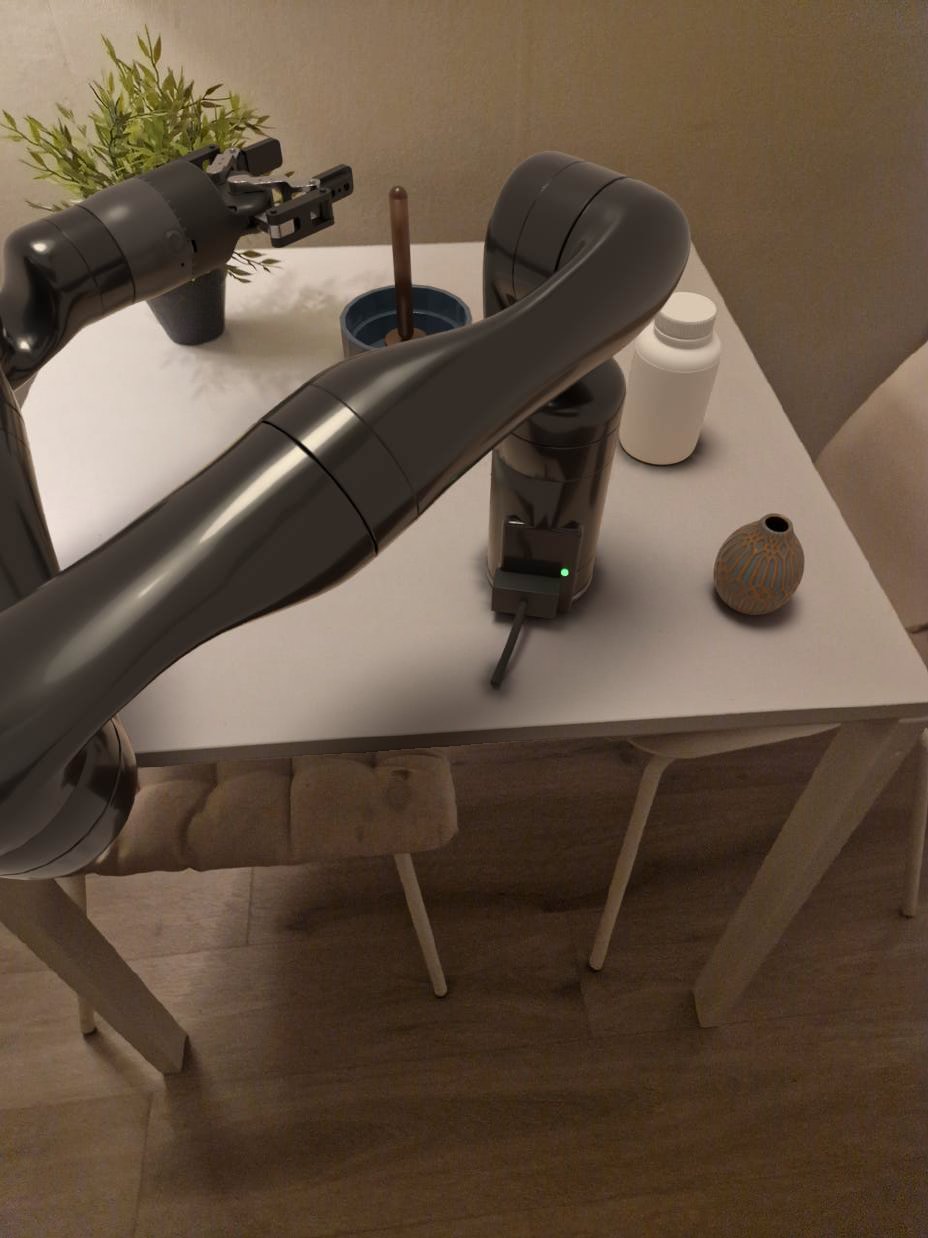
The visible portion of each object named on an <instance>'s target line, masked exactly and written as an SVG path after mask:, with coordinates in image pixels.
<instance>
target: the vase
mask: <svg viewBox="0 0 928 1238" xmlns="http://www.w3.org/2000/svg"><path fill="white" fill-rule="evenodd" d="M804 572H805V552H804V549H803V545H802V544H801V541H800V540H799V538H798V536H797V535H796V533H795V531H794V524H793V522H792V520H791V519H790V518H788V517H787V516H786V515H784V514H781V513H775V512H774V513H773V512H772V513H767V514H765V515H764V516H762V517H761V518H760V519H758V520H755V521H752V522H749V523H746V524H745V525H742V526H741V527H739V528H737V529H736V530H734V531H733V532H732V533H731V534H729V536H728V537H727V538H726V539H725V540H724V541H723V542H722V545H721V547H720V548H719V549H718V552H717V555H716V557H715V561H714V565H713V583H714V587H715V590H716V592H717V594H718V596H719V597H720V599H721V600H722V601H723V602H724V603H725V604H726V605H727V606H728V607H729V608H732V610H734V611H736V612H739V613H741V614H745V615H751V616H752V615H753V616H757V615H759V616H760V615H765V614H769V613H772V612H775V611H776V610H778V609H780V608H781V607H783V606H784V605H785V604H786V603H787V602H788V601H790V599H792V597H793V596H794V595H795V593H796V592H797V590H798V589H799V586H800V584H801V583H802V580H803V576H804Z"/></svg>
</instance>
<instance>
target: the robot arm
mask: <svg viewBox="0 0 928 1238" xmlns="http://www.w3.org/2000/svg"><path fill="white" fill-rule="evenodd" d="M206 161H207V162H208V166H207V168H206V169H205V172H206V173H205V172H204V167H203V163H204V162H206ZM283 162H284V159H283V151H282V146H281V142H280V140H279V139H277V138H275V137H271V136H269V137H267V138H264V139H262V140H260V141H257V142H254V143H252V144H249V145H248V146H245V147H242V148H239V147H235V146H231V147H227V148H226V149H225V150H224V151H221V147H220V145H219V144H215V143H210V144H208V145H205V146H203V147H200V148H198V149H196V150H193V151H190V152H189V153H187V154H183V155H182V156H180V157H177V158H174V159H173V160H170V161H168V162H165V163H163V164H161V165H160V166H158V167H156V168H153V169H150V170H148V171H146V172H143V173H140V174H138V175H136V176H133V177H130V178H127V179H125V180H122V181H120V182H117V183H115V184H113V185H110V186H107V187H104V188H102V189H100V190H98V191H96V192H95V193H93V194H91V195H90V196H88V197H87V198H85V199H84V200H82V201H80V202H77V203H76V204H74V205H72V206H69V207H66V208H64V209H62V210H59V211H56V212H53V213H50V214H48V215H46V216H44V217H40V218H39V219H36V220H33V221H31V222H28V223H26V224H24V225H21V226H20V227H18V228H15V229H14V230H13V231H11V232H10V233H9V235H7V236H6V238H5V240H4V241H3V246H2V260H3V261H2V262H3V263H2V264H3V281H2V285H1V288H0V878H2V879H11V880H22V881H30V882H31V881H32V882H33V881H43V880H44V881H45V880H53V879H58V878H61V877H63V876H67V875H70V874H73V873H75V872H77V871H79V870H82V869H83V868H85V867H86V866H88V865H89V864H91V863H92V862H94V860H96V859H97V858H98V857H100V856H101V855H102V854H104V853H105V852H106V851H107V850H108V848H109V847H110V846H111V845H112V844H113V843H114V842H115V840H116V839H117V838H118V837H119V835H120V834H121V832H122V831H123V829H124V827H125V825H126V824H127V822H128V821H129V818H130V815H131V812H132V810H133V807H134V805H135V800H136V796H137V795H136V794H137V788H138V764H137V759H136V755H135V752H134V751H135V750H134V749H133V745H132V743H131V741H130V738H129V736H128V733H127V732H126V730H125V727H124V725H123V723H122V720H121V718H120V716H119V714H118V713H119V712H121V710H123V709H124V708H125V707H126V706H127V705H128V704H130V703H131V702H133V700H134V699H136V698H137V696H139V695H140V694H141V693H142V692H143V691H144V690H146V689H147V687H149V686H150V685H151V684H152V683H153V682H154V681H156V679H157V678H159V677H160V676H162V674H164V673H165V672H166V671H167V670H169V669H170V668H171V667H172V666H174V665H175V664H176V663H178V662H179V661H180V660H181V659H183V658H185V657H186V656H187V655H189V654H191V653H192V652H193V651H195V650H197V649H198V648H200V647H201V646H203V645H205V644H207V643H208V642H210V641H213V640H214V639H217V638H218V637H219V636H221V635H224V634H226V633H228V632H231V631H233V630H236V629H238V628H240V627H243V626H245V625H246V626H247V625H249V624H252V623H254V622H256V621H259V620H262V619H264V618H267V617H270V616H272V615H275V614H279V613H281V612H284V611H286V610H289V609H291V608H293V607H296V606H299V605H302V604H304V603H306V602H309V601H311V600H314V599H316V598H318V597H320V596H322V595H325V594H326V593H328V592H331V591H332V590H334V589H337V588H339V587H340V586H341V585H343V584H345V583H346V582H348V581H349V580H351V579H352V578H354V577H355V576H356V575H357V574H359V573H360V572H361V571H363V569H365V568H366V567H368V566H369V565H370V564H371V563H372V562H373V561H375V559H376V558H378V557H379V556H380V555H381V554H382V553H383V552H384V551H386V550H387V549H388V548H389V546H391V545H392V544H394V542H395V541H397V540H398V539H399V538H400V537H401V536H402V535H403V534H404V533H405V532H406V531H407V530H409V529H410V528H411V527H413V525H414V524H416V522H417V521H418V520H420V519H421V517H422V516H423V515H424V514H425V513H427V512H428V510H429V509H430V508H431V507H432V506H433V505H435V503H437V502H438V501H439V499H440V498H442V497H443V495H444V494H445V493H446V492H448V491H449V490H450V489H451V488H452V486H454V485H455V484H456V483H457V482H458V481H459V480H461V478H463V476H465V475H466V474H467V473H468V472H469V471H470V470H472V469H473V468H474V467H475V466H477V464H479V463H480V461H481V460H483V459H484V458H485V457H487V455H488V454H490V452H491V466H490V469H491V470H490V487H489V490H490V492H489V512H488V513H489V515H488V534H487V535H488V537H487V539H488V540H487V556H486V562H485V568H486V569H485V572H486V576H487V579H488V583H490V585H491V605H490V611H492V612H498V613H499V612H500V613H505V614H514V615H515V616H514V619H513V623H512V626H511V628H510V632H509V634H508V637H507V640H506V643H505V646H504V648H503V651H502V653H501V655H500V658H499V660H498V662H497V664H496V667H495V669H494V672H493V674H492V676H491V679H490V681H489V683H490V685H491V686H493V687H494V688H495V687H499V686H500V683H501V680H502V678H503V676H504V673H505V671H506V668H507V666H508V664H509V661H510V660H511V657H512V654H513V653H514V649H515V648H516V644H517V641H518V638H519V635H520V633H521V629H522V626H523V623H524V620H525V617H526V616H529V617H537V618H544V619H552V620H555V619H556V614H557V612H558V613H565V614H566V613H570V612H571V608H572V604H573V603H574V602H576V601H578V600H579V599H580V598H582V597H583V595H584V594H586V592H587V591H588V589H589V587H590V586H591V584H592V580H593V575H594V563H595V559H596V553H597V547H598V541H599V536H600V531H601V526H602V521H603V515H604V511H605V505H606V500H607V496H608V495H607V494H608V490H609V485H610V484H609V483H610V479H611V474H612V469H613V463H614V458H615V452H616V448H617V444H618V439H619V430H620V423H621V418H622V414H623V408H624V403H625V397H626V391H627V381H626V377H625V374H624V372H623V369H622V367H621V365H620V364H619V363H618V361H617V360H616V358H615V356H616V355H617V354H619V353H620V352H621V351H622V350H623V349H624V348H626V347H627V346H629V344H630V343H631V342H633V341H634V340H635V339H637V337H638V336H639V334H640V333H641V332H642V331H643V330H644V329H645V328H646V327H647V326H648V325H649V324H650V323H652V322H653V321H654V318H655V317H656V316H657V315H658V313H659V312H660V311H661V310H662V308H663V307H664V306H665V304H666V303H667V301H668V300H669V298H670V297H671V295H672V294H673V293H675V290H676V289H677V287H678V285H679V282H680V281H681V279H682V276H683V274H684V272H685V269H686V267H687V264H688V261H689V257H690V252H691V245H692V231H691V226H690V223H689V218H688V216H687V215H686V213H685V211H684V210H683V207H682V206H681V205H680V203H678V202H677V201H676V200H675V199H674V198H672V197H671V196H670V195H668V193H666V192H664V191H662V190H661V189H659V188H658V187H655V186H654V185H651V184H649V183H647V182H644V181H642V180H640V179H638V178H635V177H632V176H630V175H627V174H625V173H621V172H619V171H616V170H614V169H611V168H608V167H606V166H603V165H600V164H598V163H595V162H592V161H589V160H586V159H584V158H581V157H578V156H576V155H574V154H570V153H566V152H562V151H559V150H545V151H539V152H536V153H533V154H532V155H529V156H528V157H526V158H525V159H524V160H522V161H521V162H519V164H518V165H516V166H515V167H514V169H512V171H511V172H510V173H509V175H508V176H507V177H506V179H505V180H504V182H503V184H502V185H501V188H500V189H499V191H498V193H497V195H496V198H495V200H494V203H493V205H492V209H491V212H490V215H489V218H488V222H487V226H486V232H485V237H484V243H483V244H484V245H483V253H482V254H483V255H482V314H483V315H482V317H483V319H481V320H478V321H475V322H472V324H470V325H466V326H463V327H459V328H456V329H452V330H448V331H445V332H440V333H436V334H432V335H428V336H424V337H420V338H416V339H412V340H408V341H405V342H401V343H397V344H393V345H389V346H385V347H381V348H378V349H374V350H371V351H367V352H364V353H361V354H358V355H356V356H353V357H350V358H347V359H344V358H343V359H342V360H339V361H338V362H336V363H333V364H332V365H330V366H328V367H326V368H324V369H323V370H321V371H320V372H318V373H316V374H315V375H314V376H312V377H311V378H309V379H308V380H306V381H305V382H304V383H302V384H301V385H300V386H299V387H298V388H296V389H295V390H293V392H291V393H290V394H289V395H288V396H286V397H285V398H284V399H283V400H282V401H280V402H279V403H278V404H277V405H275V406H274V407H273V408H271V409H270V410H269V411H268V412H266V413H265V414H264V415H263V416H262V417H260V418H259V419H258V420H256V422H253V423H252V424H251V425H250V426H249V427H248V428H247V429H246V430H244V431H243V432H242V433H241V434H240V435H239V436H238V437H236V438H235V439H234V440H233V441H232V442H231V443H229V445H227V446H226V447H225V448H224V449H223V450H222V451H221V452H219V453H218V455H216V456H215V457H214V458H212V460H210V461H209V462H207V463H206V464H205V465H204V466H202V467H201V468H200V469H198V470H197V471H196V472H194V473H193V474H192V475H190V476H189V477H188V478H187V479H185V480H184V481H182V482H181V483H180V484H178V485H177V486H176V487H174V488H173V489H172V490H171V491H169V492H168V493H166V494H165V495H164V496H163V497H162V498H160V499H159V500H158V501H156V502H155V503H153V504H152V505H150V506H149V507H148V508H147V509H145V510H144V511H143V512H142V513H140V514H139V515H138V516H137V517H135V518H134V519H132V520H131V521H130V522H129V523H128V524H126V525H125V526H123V527H122V528H121V529H119V530H118V531H117V532H115V533H114V534H112V535H111V536H110V537H109V538H107V539H106V540H105V541H104V542H102V543H101V544H99V545H98V546H96V547H95V548H94V549H92V550H91V551H89V552H88V553H87V554H85V555H83V556H82V557H80V558H79V559H78V560H76V561H75V562H73V563H72V564H70V565H68V566H67V567H65V568H64V569H62V570H61V567H60V564H59V560H58V557H57V553H56V549H55V547H54V544H53V541H52V537H51V533H50V529H49V525H48V522H47V518H46V513H45V509H44V506H43V505H44V504H43V500H42V496H41V492H40V488H39V483H38V479H37V473H36V470H35V464H34V459H33V455H32V450H31V445H30V441H29V436H28V432H27V427H26V423H25V419H24V416H23V413H22V410H21V408H20V405H19V403H18V400H17V397H16V396H15V395H16V394H15V392H16V391H19V389H21V388H22V387H23V386H24V385H25V384H26V383H27V382H28V381H30V380H31V379H32V378H33V377H34V376H35V375H36V374H37V373H38V372H40V371H41V369H43V368H44V367H45V366H46V365H47V364H48V363H49V362H50V361H51V360H52V359H53V358H55V357H56V356H57V355H58V354H59V353H60V352H61V351H62V350H64V349H65V348H66V346H68V344H70V342H71V341H73V339H74V338H75V337H76V336H78V335H79V333H81V331H82V330H85V329H86V328H87V327H89V326H91V325H94V324H96V323H99V322H101V321H103V320H105V319H107V318H108V317H111V316H113V315H115V314H117V313H119V312H121V311H123V310H125V309H127V308H128V307H131V306H133V305H136V304H139V303H142V302H146V301H149V300H152V299H156V298H157V297H160V296H163V295H164V294H166V293H168V292H171V291H173V290H175V289H177V288H180V287H181V286H183V285H185V284H187V283H190V282H191V281H193V280H195V279H197V278H199V277H201V276H203V275H206V274H207V273H209V272H212V271H213V270H216V269H218V268H219V267H221V266H223V265H225V264H227V263H228V262H229V261H230V260H231V259H232V257H233V255H234V253H235V250H236V247H237V244H238V242H239V241H240V238H241V237H245V236H249V235H254V234H259V233H265V234H266V235H268V236H269V239H270V245H271V247H272V248H274V249H283V248H285V247H288V246H291V245H292V244H294V243H297V242H298V241H301V240H303V239H305V238H307V237H310V236H312V235H314V234H316V233H319V232H321V231H323V230H326V229H327V228H330V227H332V226H333V225H335V224H336V221H335V216H334V210H333V209H334V208H333V204H334V203H337V202H339V201H341V200H343V199H345V198H346V197H349V196H351V195H352V194H353V193H354V188H355V187H354V185H355V184H354V175H353V169H352V167H351V166H350V165H347V164H345V163H340V164H338V165H336V166H333V167H331V168H329V169H327V170H325V171H323V172H321V173H318V174H316V175H314V176H312V177H311V178H305V179H294V180H291V179H290V178H289V177H288V175H285V174H275V175H274V174H273V175H265V174H268V173H270V172H272V171H274V170H276V169H280V168H281V167H282V166H283ZM263 175H264V176H263ZM273 190H277V191H279V192H280V195H281V200H282V201H281V203H279V202H275V199H274V192H273ZM300 193H301V194H302V195H300V196H297V197H294V198H292V196H293V195H294V194H300ZM303 193H304V194H303Z"/></svg>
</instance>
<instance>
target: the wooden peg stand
mask: <svg viewBox="0 0 928 1238" xmlns="http://www.w3.org/2000/svg"><path fill="white" fill-rule="evenodd" d="M388 203H389V218H390V233H391V234H390V235H391V249H392V266H393V282H394V285H395V298H396V313H397V329H394V330H392V331H390V332H389V333H388V334H387V335H386V336H385V346H389V345H393V344H397V343H401V342H405V341H408V340H412V339H416V338H420V337H424V336H427V334H426V333H425V332H424V331H422V330H420V329H417V328H414V318H413V297H412V284H413V278H412V277H413V276H412V258H411V257H412V256H411V238H410V237H411V236H410V218H409V217H410V215H409V214H410V213H409V194H408V191H407V189H406V188H405V186H404V185H401V184H395V185H393V186H392V187H390V189H389V192H388Z"/></svg>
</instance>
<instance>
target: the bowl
mask: <svg viewBox="0 0 928 1238" xmlns="http://www.w3.org/2000/svg"><path fill="white" fill-rule="evenodd" d="M412 297H413V318H414V328H417V329H420V330H422V331H424V332H425V333H426V334H427V336H428V335H432V334H436V333H440V332H445V331H448V330H452V329H456V328H459V327H463V326H466V325H470V324H473V315H472V312H471V309H470V306H468V305H467V303H466V302H465V301H463V299H462V298H461V297H459V296H457V295H455V294H454V293H452V292H450V291H448V290H446V289H443V288H439V287H436V286H432V285H428V284H427V285H425V284H416V283H415V284H413V283H412ZM339 326H340V335H341V343H342V350H343V360H344V359H347V358H350V357H353V356H356V355H358V354H361V353H364V352H367V351H371V350H374V349H378V348H381V347H385V336H386V335H387V334H388V333H389V332H390V331H392V330H394V329H397V313H396V298H395V284H389V285H385V286H381V287H376V288H373V289H369V290H368V291H366V292H363V293H361V294H359V295H357V296H355V297H354V298H352V300H351V301H349V302H348V303H347V304H346V305H345V306H344V308H343V310H342V311H341V313H340V315H339Z"/></svg>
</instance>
